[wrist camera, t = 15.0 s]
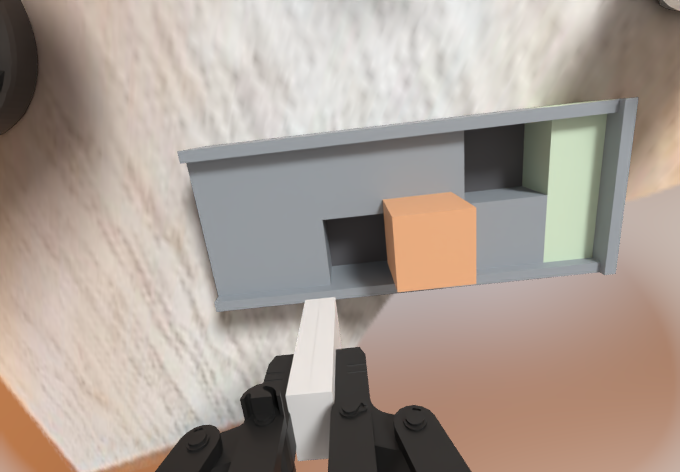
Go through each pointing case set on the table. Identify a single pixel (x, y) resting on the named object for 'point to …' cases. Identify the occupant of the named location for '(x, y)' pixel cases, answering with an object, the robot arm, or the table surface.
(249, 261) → the box
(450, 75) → the table surface
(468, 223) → the block
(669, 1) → the cup
